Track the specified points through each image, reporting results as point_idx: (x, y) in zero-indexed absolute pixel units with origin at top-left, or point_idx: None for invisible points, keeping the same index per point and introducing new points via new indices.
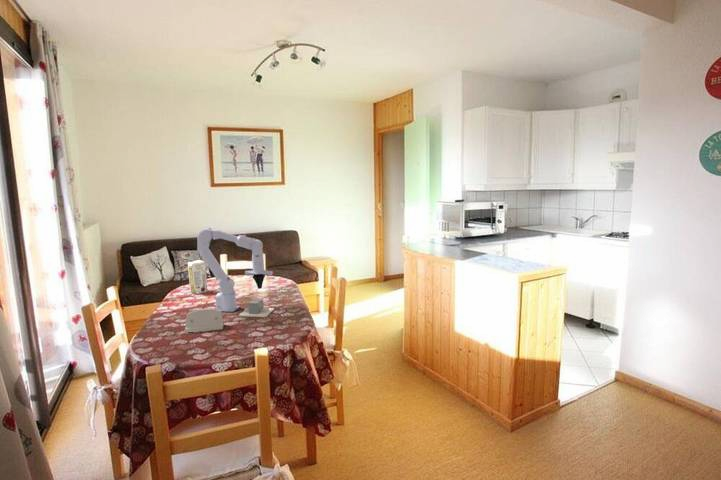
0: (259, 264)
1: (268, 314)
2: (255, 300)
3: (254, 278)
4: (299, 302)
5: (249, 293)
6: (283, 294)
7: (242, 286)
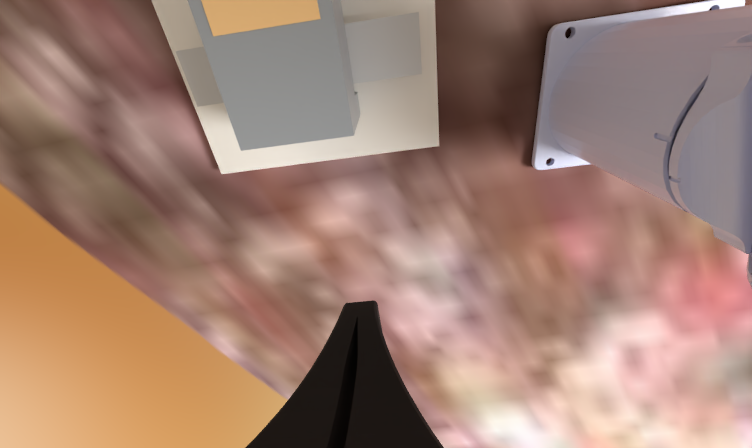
0: None
1: (173, 37)
2: (293, 76)
3: (403, 440)
4: (176, 315)
5: (558, 381)
6: None
7: (632, 444)
